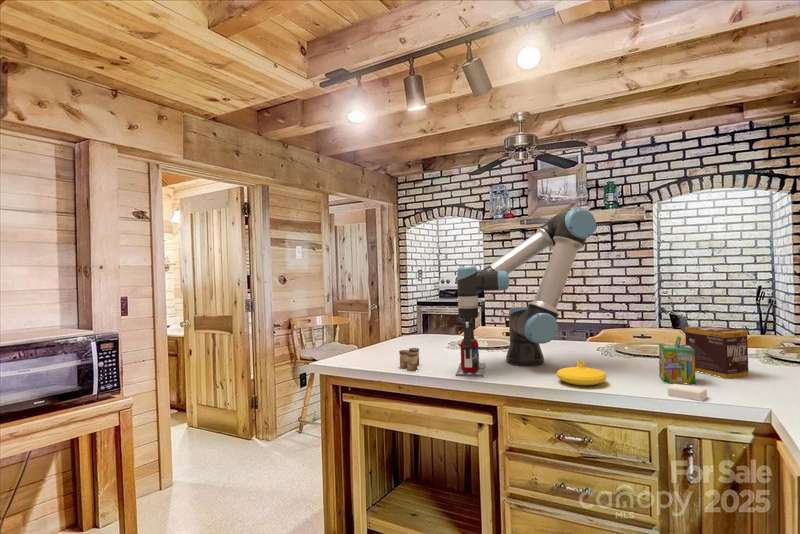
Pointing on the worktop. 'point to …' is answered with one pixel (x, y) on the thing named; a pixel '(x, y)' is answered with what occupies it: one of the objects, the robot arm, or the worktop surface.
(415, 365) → the jar
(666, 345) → the chalk box
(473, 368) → the beverage can
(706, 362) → the supplement box
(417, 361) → the jar
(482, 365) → the pad two
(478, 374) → the pad three
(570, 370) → the yellow lidded dish
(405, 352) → the jar
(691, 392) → the soap
